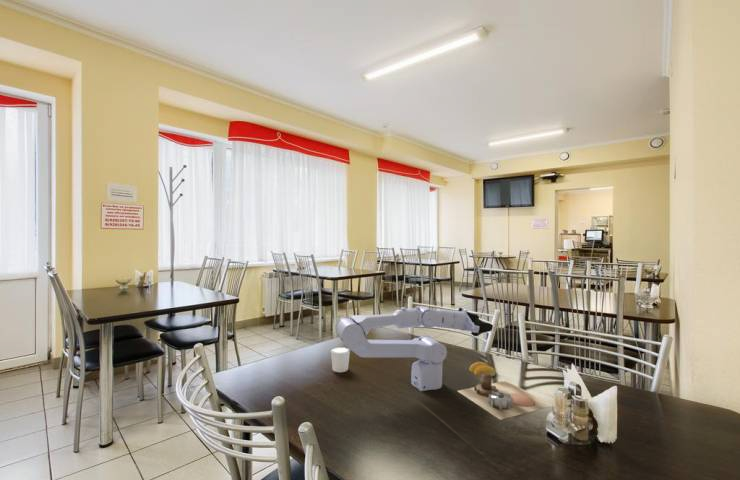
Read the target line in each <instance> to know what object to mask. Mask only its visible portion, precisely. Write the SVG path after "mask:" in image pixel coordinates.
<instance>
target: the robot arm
mask: <svg viewBox="0 0 740 480" xmlns="http://www.w3.org/2000/svg"><path fill="white" fill-rule="evenodd" d="M389 326H395V327H396V328H397V329H408V328H417V327H421V326H422V327H424V328H427V329H432V328H434V327H436V328H443V329H453V330H459V331H464V332H465V331H466V332H467V331H468V332H470V333H471V335H472V336H473V337H478V336H479V335H481V334H483V333H488V332H489V333H490V332H492V331H493V329H494V325H493V324H492V323H489V322H486V321H482V320H480V316H479V315H477V314H475V313H471V312H469V311H468V309H466V308H462V307H459V308H458V311H457V310H453V309H452V310H450V309H441V308H429V307H428V306H424V305H418V306H415V308H407V307H405V306H401V307H400V309H396V310H395V311H394V312H393V313H390V314H389V313H387V314H384V313H383V314H359V315H358V314H354V315H351V316H350V317H349V316H342V317H340V318H339V319H338V320H337V321H336V323H335V327H334V328H335V331H336V334H337V336H338V337H339V338H340V340H341V341H342V343H344V345H345V346H346V347H345V348H348V349H350V351H352V352H353V353H355V355H357V356H359V357H360V358H363V359H364V358H416V359H418V360H417V361H414V362H412V364H411V373H410V383H411V385H412V386H413V387H414V388H416V389H417V390H418V391H420V392H424V391H431V390H439V389H441V388H442V387H443V363H444V360H445V359H446V357H447V355H448V350H447V347H446V345H445V344H443V343H441V342H439V341H437V340H436V339H434V338H432V337H431V336H429V335H428V334H426V335H425V334H424V335H422V336H420V337H414V338H413V339H367V338H366V336H368V334H369V333H370V332H371V330H372V329H375V328H381V327H382V328H384V327H389Z"/></svg>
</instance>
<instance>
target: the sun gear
mask: <svg viewBox="0 0 740 480" xmlns="http://www.w3.org/2000/svg"><path fill="white" fill-rule="evenodd" d="M488 403H489V404H491V407H492V408H497V409H499V410H501V411H502V410H508V411H509V410H511V407H512V408H513V398H511V395H510V394H506V393H503V392H501V391H500V392H494V391H492V393H491V394H489V399H488Z"/></svg>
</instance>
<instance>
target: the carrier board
mask: <svg viewBox="0 0 740 480" xmlns="http://www.w3.org/2000/svg"><path fill="white" fill-rule="evenodd" d="M492 386H496V389H498V392H500V391H501V392H503V393H506V394H511V393H518V394H523V395H526V396H529V397H531V398H532V399H533V400H534V405H533V406H529V407H523V406H518V405H515V404H513V408H512V407H511V410H509V411H508V410H502V411H501V410H499V409H497V408H492V407H491V404H489V403H488V399H489V396H487V397H484V396H483V395H480V394H477V392H476V391H475V390H474V387H470V388H464V389H460V390H457V392H458V393H459V394H460V395H463V396H464V398H467V399H468V400H469V401H472V402H473V403H474V404H476V405H478V406H479V407H480V408H482V409H483V410H484V411H487V412H488V413H489V414H491V415H492V416H493V417H495V418H497V419H498V420H500V421H501V420H505V419H509V418H513V417H516V416H519V415H524V414H528V413H531V412H535V411H539V410H542V409H546V408H550V407H554V406H553V405H554V404H552V403H550V402H547V401H546V400H544V399H543V398H540V397H538V396H536V395H534V394H533V393H530V392H529V391H527V390H525V389H523V388H520V387H519V386H517V385H515V384H513V383H511V382H509V381H507V380H502V381H498V382H494V383H493V382H492Z"/></svg>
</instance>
